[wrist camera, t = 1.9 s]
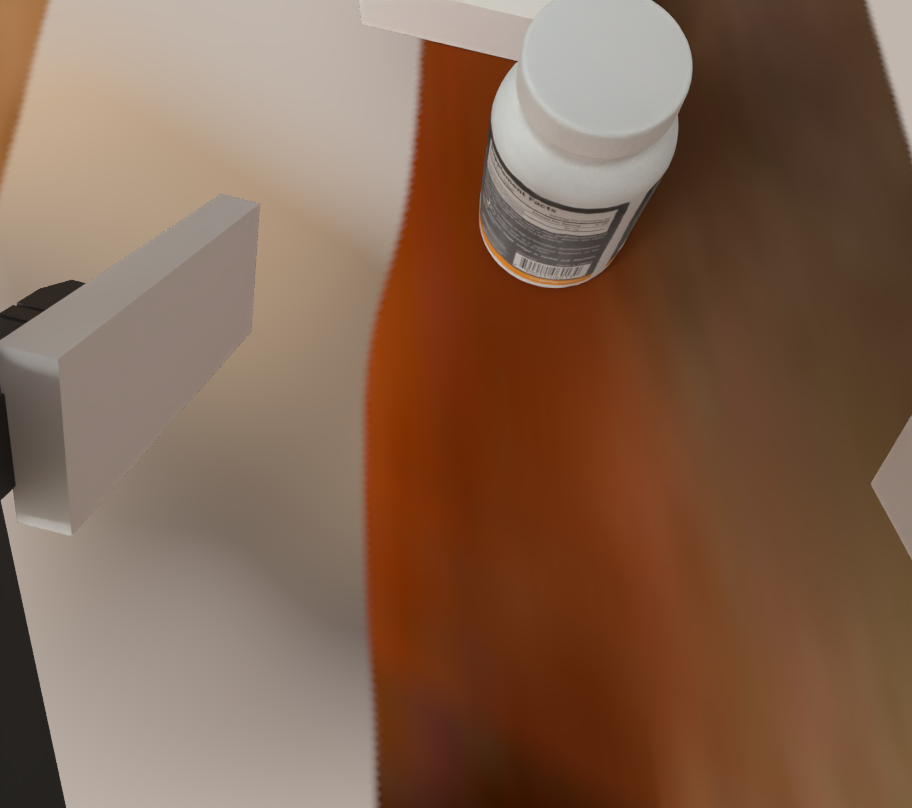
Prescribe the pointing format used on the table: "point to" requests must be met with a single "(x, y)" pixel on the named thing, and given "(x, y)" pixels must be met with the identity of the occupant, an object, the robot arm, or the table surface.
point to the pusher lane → (457, 22)
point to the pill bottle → (581, 136)
